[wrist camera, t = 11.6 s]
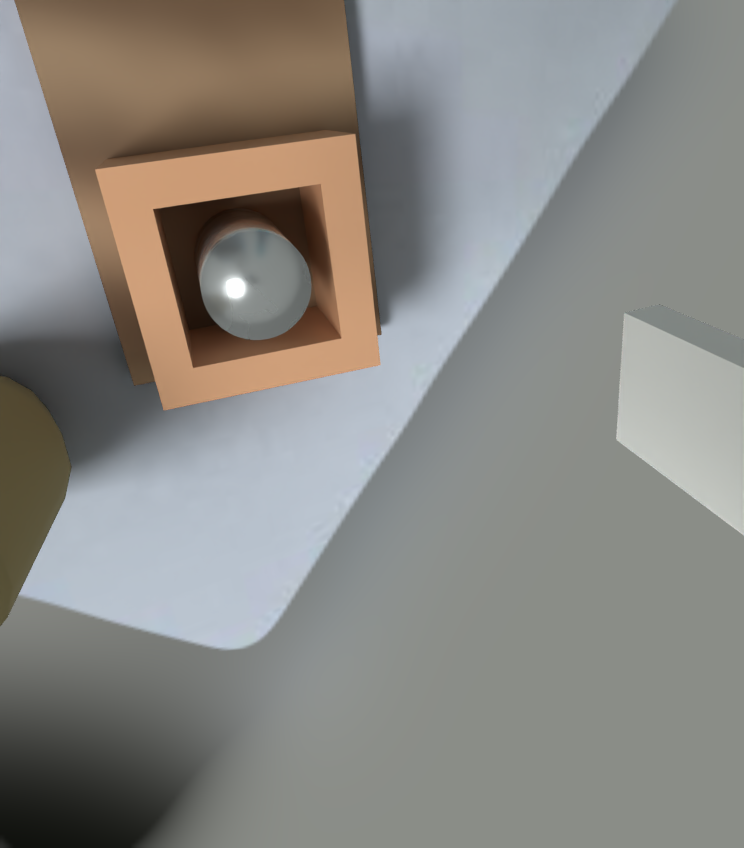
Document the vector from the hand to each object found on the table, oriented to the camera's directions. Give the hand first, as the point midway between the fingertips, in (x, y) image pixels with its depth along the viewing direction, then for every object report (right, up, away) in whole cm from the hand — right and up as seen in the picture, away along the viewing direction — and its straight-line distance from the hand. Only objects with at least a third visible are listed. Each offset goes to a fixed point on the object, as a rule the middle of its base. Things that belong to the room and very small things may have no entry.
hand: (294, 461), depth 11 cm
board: (-5, +12, +17) cm, 21 cm away
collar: (-4, +8, +18) cm, 20 cm away
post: (-5, +9, +18) cm, 21 cm away
